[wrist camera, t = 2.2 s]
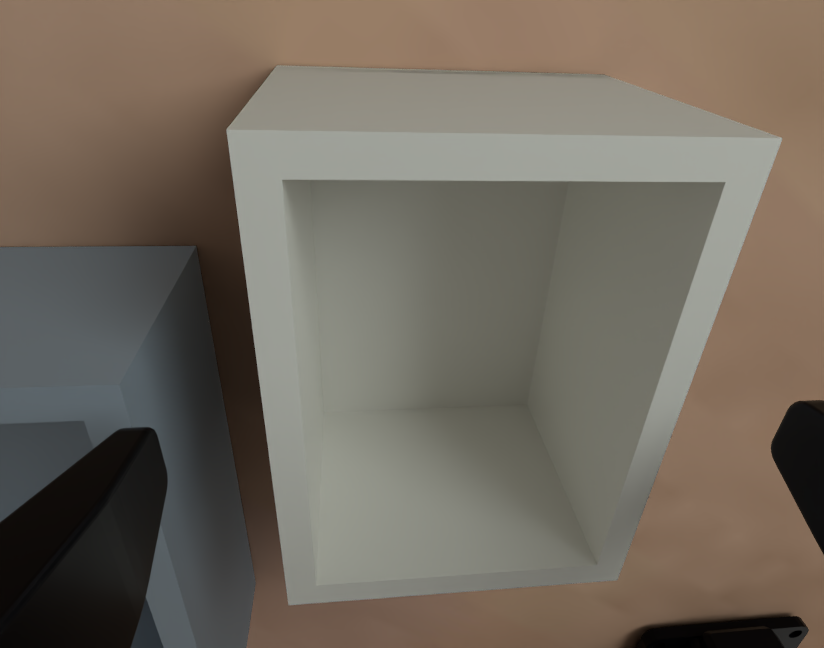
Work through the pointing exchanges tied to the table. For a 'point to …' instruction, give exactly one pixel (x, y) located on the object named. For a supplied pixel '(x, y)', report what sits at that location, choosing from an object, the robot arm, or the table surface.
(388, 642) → the table surface
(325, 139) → the box
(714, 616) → the table surface
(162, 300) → the large crate
